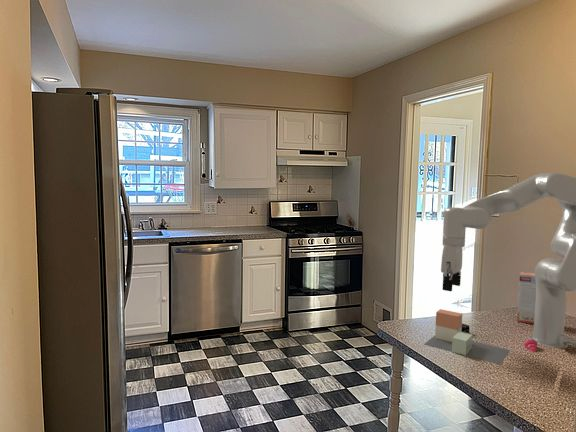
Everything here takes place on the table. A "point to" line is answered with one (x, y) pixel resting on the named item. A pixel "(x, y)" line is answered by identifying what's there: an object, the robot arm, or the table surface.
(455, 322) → the terracotta brick
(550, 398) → the table surface
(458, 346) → the sage brick
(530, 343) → the toy pieces
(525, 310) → the cracker box
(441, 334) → the cream brick
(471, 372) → the table surface
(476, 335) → the table surface
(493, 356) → the baseplate
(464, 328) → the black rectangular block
